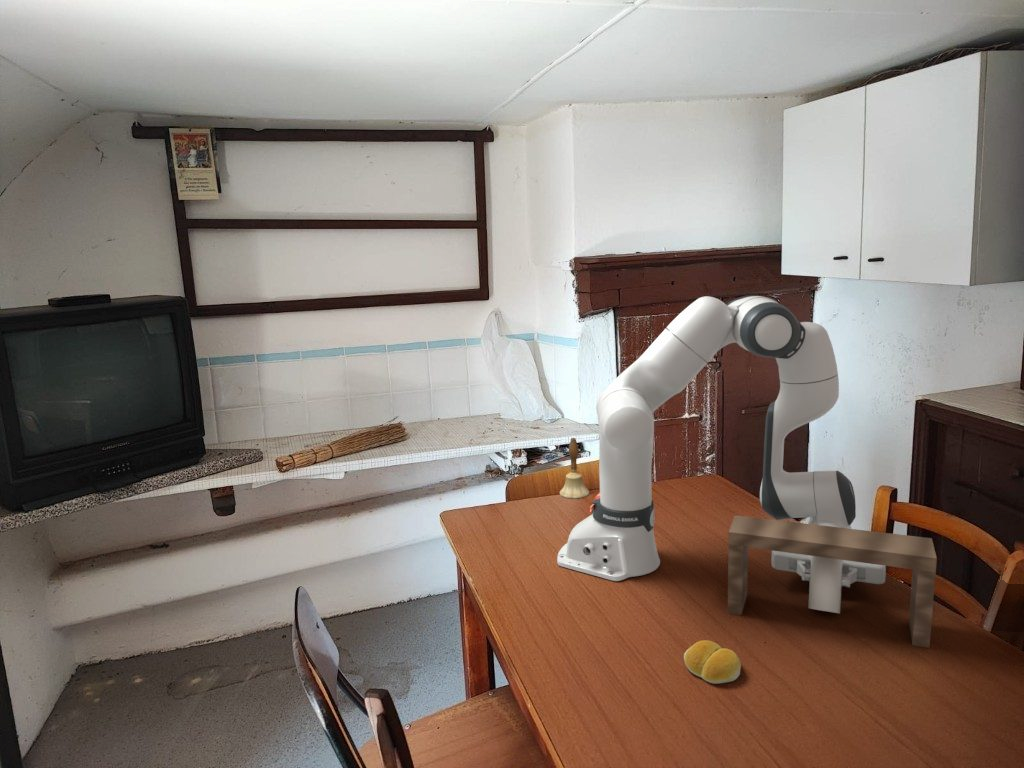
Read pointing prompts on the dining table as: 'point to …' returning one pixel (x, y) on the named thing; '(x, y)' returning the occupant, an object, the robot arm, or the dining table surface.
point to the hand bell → (574, 476)
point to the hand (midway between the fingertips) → (825, 580)
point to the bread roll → (712, 662)
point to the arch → (837, 546)
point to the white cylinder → (825, 584)
